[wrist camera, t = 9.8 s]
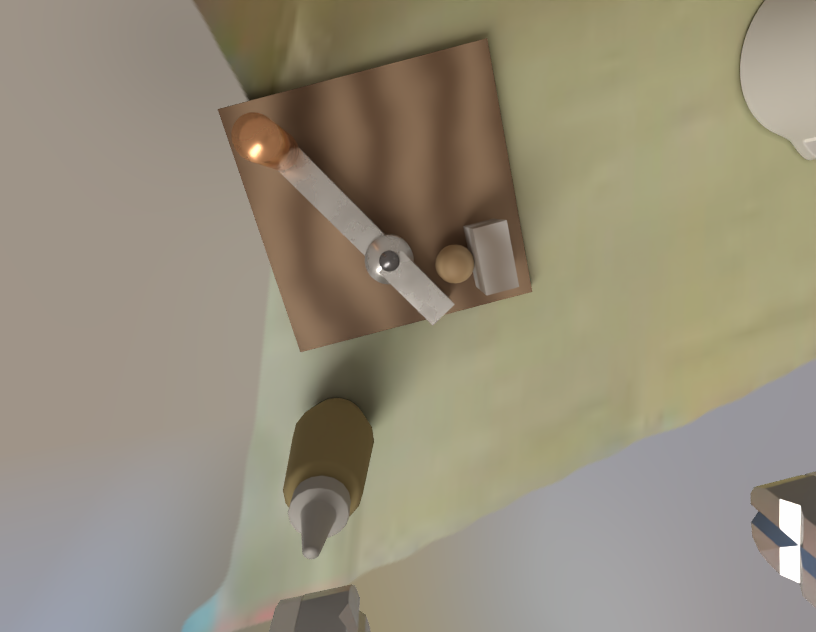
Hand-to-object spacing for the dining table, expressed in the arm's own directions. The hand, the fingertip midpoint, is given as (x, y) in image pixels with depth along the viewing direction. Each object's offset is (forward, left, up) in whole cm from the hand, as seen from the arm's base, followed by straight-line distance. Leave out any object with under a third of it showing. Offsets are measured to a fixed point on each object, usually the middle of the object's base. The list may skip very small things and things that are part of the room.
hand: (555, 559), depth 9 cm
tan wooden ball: (-4, -1, -34) cm, 34 cm away
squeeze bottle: (+12, +13, -36) cm, 40 cm away
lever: (+4, -6, -34) cm, 35 cm away
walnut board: (+1, -7, -35) cm, 36 cm away
